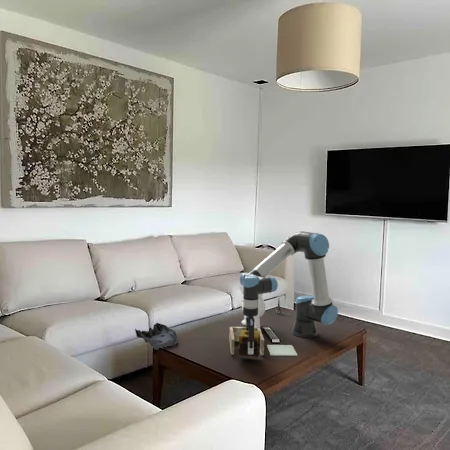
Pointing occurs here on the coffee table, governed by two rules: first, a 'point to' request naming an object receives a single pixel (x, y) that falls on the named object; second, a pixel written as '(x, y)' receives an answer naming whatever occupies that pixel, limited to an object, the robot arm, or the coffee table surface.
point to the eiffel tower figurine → (278, 311)
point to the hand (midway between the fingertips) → (249, 349)
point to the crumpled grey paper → (158, 336)
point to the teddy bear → (260, 309)
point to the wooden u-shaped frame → (234, 337)
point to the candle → (244, 344)
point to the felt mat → (281, 350)
